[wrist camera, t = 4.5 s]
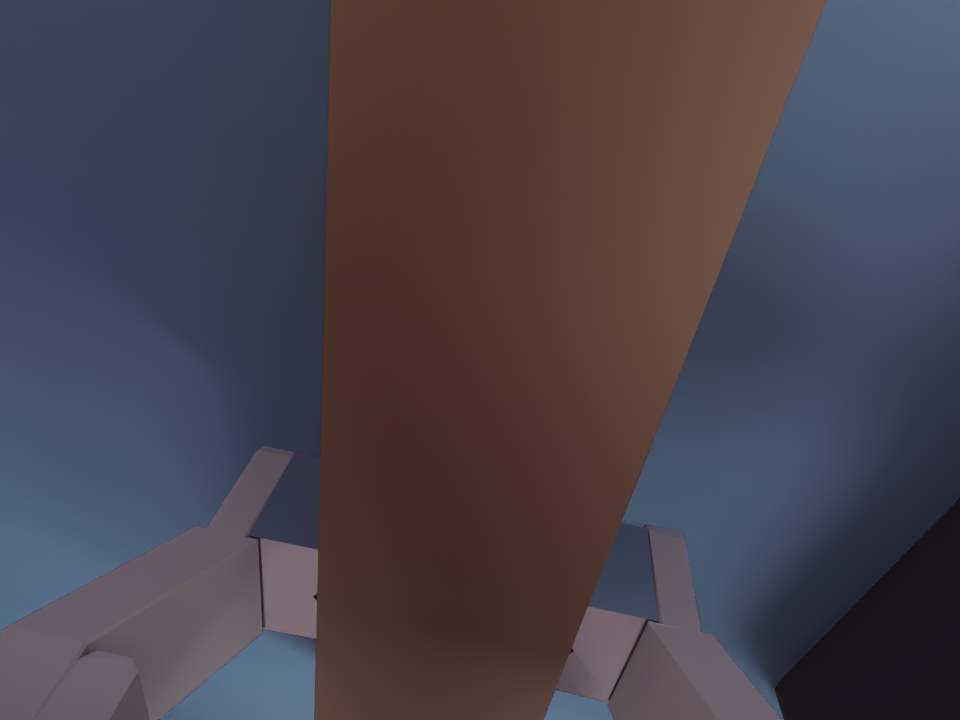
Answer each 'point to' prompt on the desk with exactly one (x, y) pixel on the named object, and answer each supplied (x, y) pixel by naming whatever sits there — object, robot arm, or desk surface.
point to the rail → (512, 315)
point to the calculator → (890, 644)
